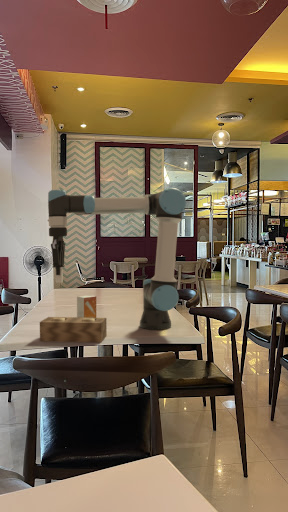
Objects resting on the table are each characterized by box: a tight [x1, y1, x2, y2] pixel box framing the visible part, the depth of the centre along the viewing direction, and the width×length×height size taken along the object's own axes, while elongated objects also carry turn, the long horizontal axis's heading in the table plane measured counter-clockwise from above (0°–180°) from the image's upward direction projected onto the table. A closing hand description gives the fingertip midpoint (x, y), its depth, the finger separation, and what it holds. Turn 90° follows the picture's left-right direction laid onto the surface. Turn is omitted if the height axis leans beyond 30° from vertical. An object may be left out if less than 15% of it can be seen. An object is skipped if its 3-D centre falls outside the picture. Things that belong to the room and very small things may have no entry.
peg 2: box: [83, 318, 95, 322], centre depth 171 cm, size 5×5×8 cm
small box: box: [76, 294, 97, 318], centre depth 207 cm, size 8×6×13 cm
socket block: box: [39, 316, 108, 343], centre depth 172 cm, size 26×11×8 cm, turn 84°
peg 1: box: [53, 318, 65, 321], centre depth 173 cm, size 5×5×8 cm
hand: (59, 282), depth 172 cm, fingers closed
